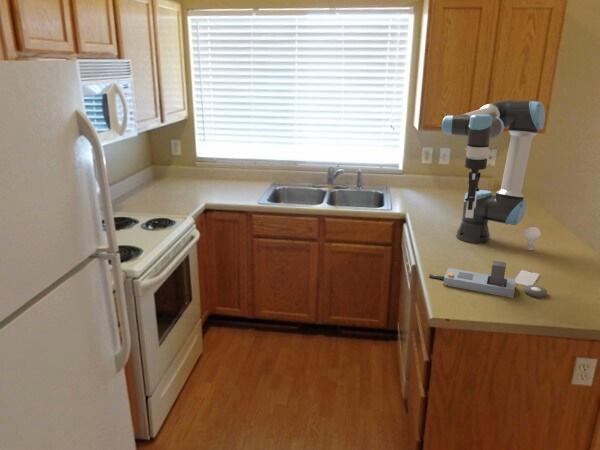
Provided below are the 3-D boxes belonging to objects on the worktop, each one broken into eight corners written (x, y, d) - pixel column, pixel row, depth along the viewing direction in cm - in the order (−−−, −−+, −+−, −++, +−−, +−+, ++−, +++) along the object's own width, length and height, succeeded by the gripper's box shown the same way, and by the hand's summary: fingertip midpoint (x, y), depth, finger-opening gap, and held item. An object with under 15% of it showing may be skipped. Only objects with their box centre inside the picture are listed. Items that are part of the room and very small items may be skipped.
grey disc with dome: (524, 288, 171) (525, 283, 170) (545, 291, 168) (546, 287, 167) (524, 295, 165) (525, 291, 164) (546, 299, 162) (547, 294, 161)
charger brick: (488, 285, 173) (492, 260, 170) (502, 287, 171) (506, 262, 168) (487, 289, 169) (491, 264, 166) (501, 292, 167) (505, 266, 164)
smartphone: (511, 282, 175) (521, 269, 186) (510, 283, 175) (520, 270, 187) (532, 287, 171) (541, 273, 182) (532, 289, 171) (540, 275, 182)
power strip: (431, 272, 184) (432, 263, 183) (514, 286, 172) (515, 277, 171) (427, 281, 175) (427, 272, 174) (513, 297, 163) (514, 287, 162)
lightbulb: (518, 249, 209) (522, 225, 206) (529, 247, 211) (532, 224, 208) (530, 253, 203) (534, 230, 200) (540, 251, 206) (545, 228, 202)
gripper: (468, 151, 183) (463, 202, 190) (462, 163, 161) (456, 220, 168) (488, 152, 180) (482, 204, 187) (485, 164, 158) (478, 223, 165)
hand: (470, 212), depth 178 cm, fingers open, 13 cm apart
